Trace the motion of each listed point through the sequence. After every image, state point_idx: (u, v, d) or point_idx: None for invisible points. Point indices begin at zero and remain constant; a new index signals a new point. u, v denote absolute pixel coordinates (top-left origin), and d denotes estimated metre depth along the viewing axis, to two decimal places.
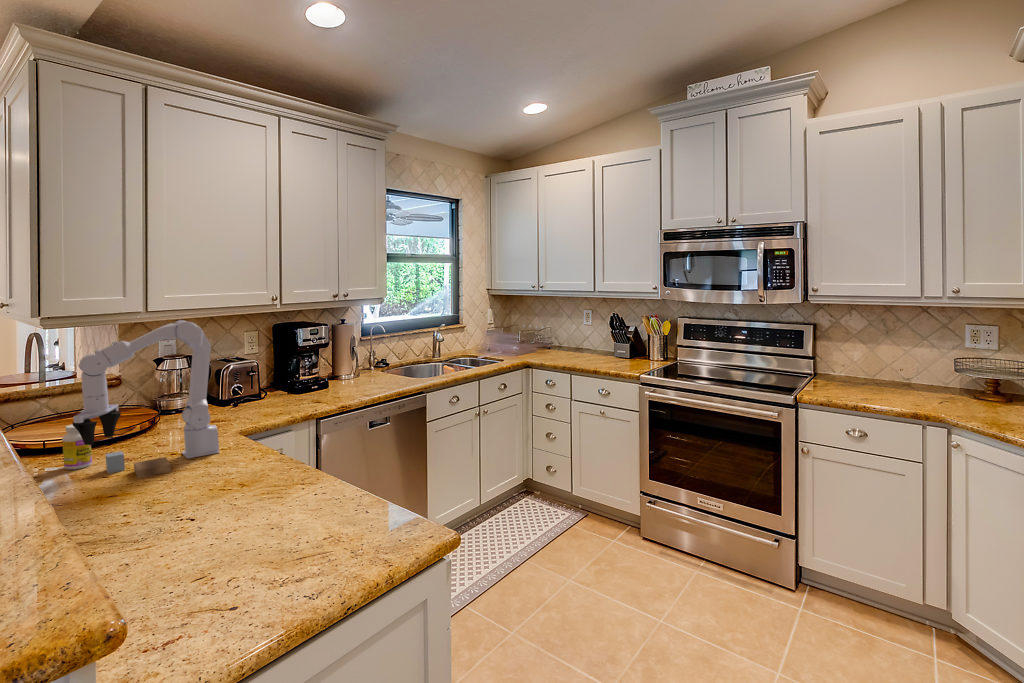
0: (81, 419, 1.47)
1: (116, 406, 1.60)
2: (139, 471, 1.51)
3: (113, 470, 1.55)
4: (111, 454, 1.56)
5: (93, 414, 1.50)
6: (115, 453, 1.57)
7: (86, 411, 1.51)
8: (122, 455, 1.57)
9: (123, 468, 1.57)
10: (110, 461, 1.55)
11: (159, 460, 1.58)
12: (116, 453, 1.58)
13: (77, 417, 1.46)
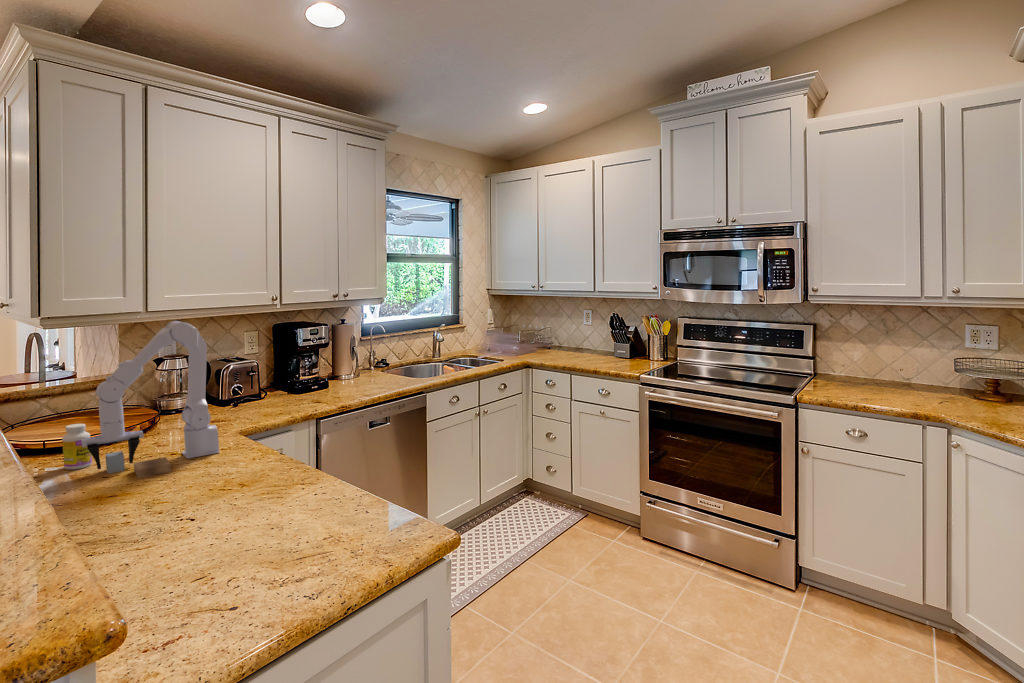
0: (83, 444, 1.51)
1: (139, 433, 1.60)
2: (139, 471, 1.51)
3: (113, 470, 1.55)
4: (111, 454, 1.56)
5: (98, 440, 1.52)
6: (115, 453, 1.57)
7: (101, 435, 1.55)
8: (122, 455, 1.57)
9: (123, 468, 1.57)
10: (110, 461, 1.55)
11: (159, 460, 1.58)
12: (116, 453, 1.58)
13: None
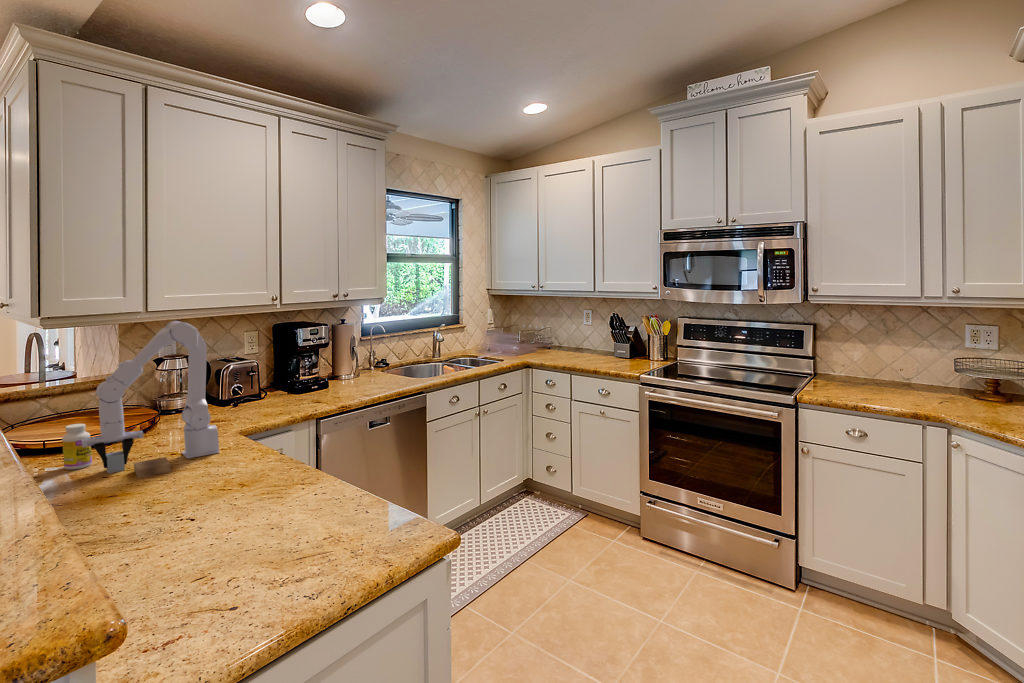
0: (83, 444, 1.51)
1: (139, 433, 1.60)
2: (139, 471, 1.51)
3: (113, 470, 1.55)
4: (111, 454, 1.56)
5: (98, 440, 1.52)
6: (115, 453, 1.57)
7: (101, 435, 1.55)
8: (122, 455, 1.57)
9: (123, 468, 1.57)
10: (110, 460, 1.55)
11: (159, 460, 1.58)
12: (116, 452, 1.58)
13: (82, 441, 1.51)
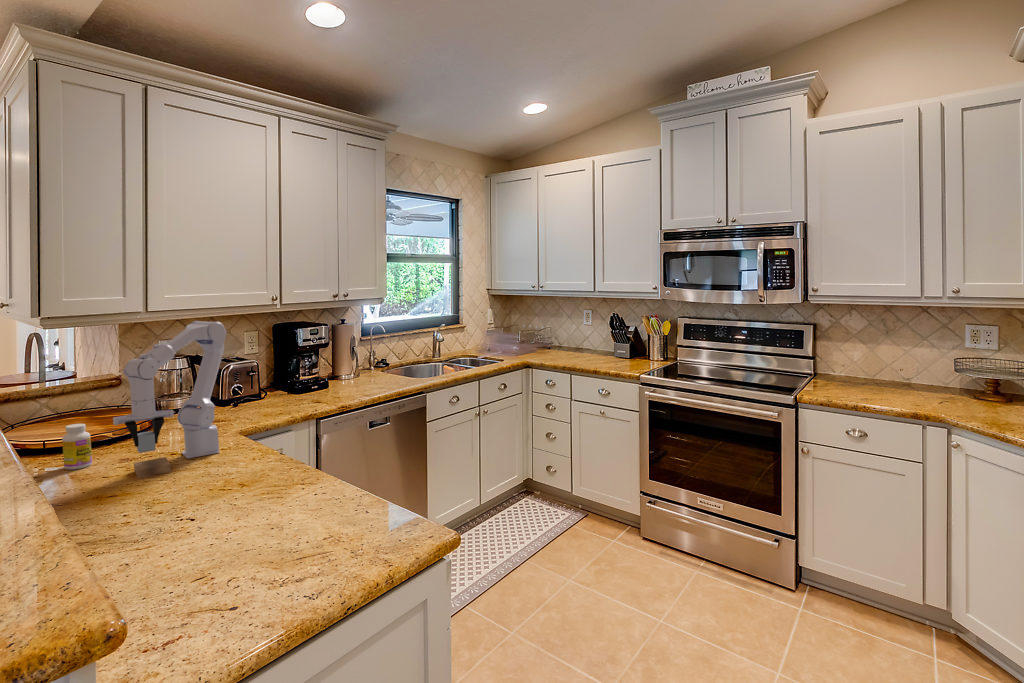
0: (115, 421, 1.49)
1: (170, 412, 1.58)
2: (139, 471, 1.51)
3: (144, 450, 1.54)
4: (142, 434, 1.55)
5: (129, 418, 1.51)
6: (146, 433, 1.56)
7: (132, 414, 1.53)
8: (153, 434, 1.55)
9: (154, 448, 1.55)
10: (141, 440, 1.53)
11: (159, 460, 1.58)
12: (146, 432, 1.56)
13: (113, 419, 1.49)
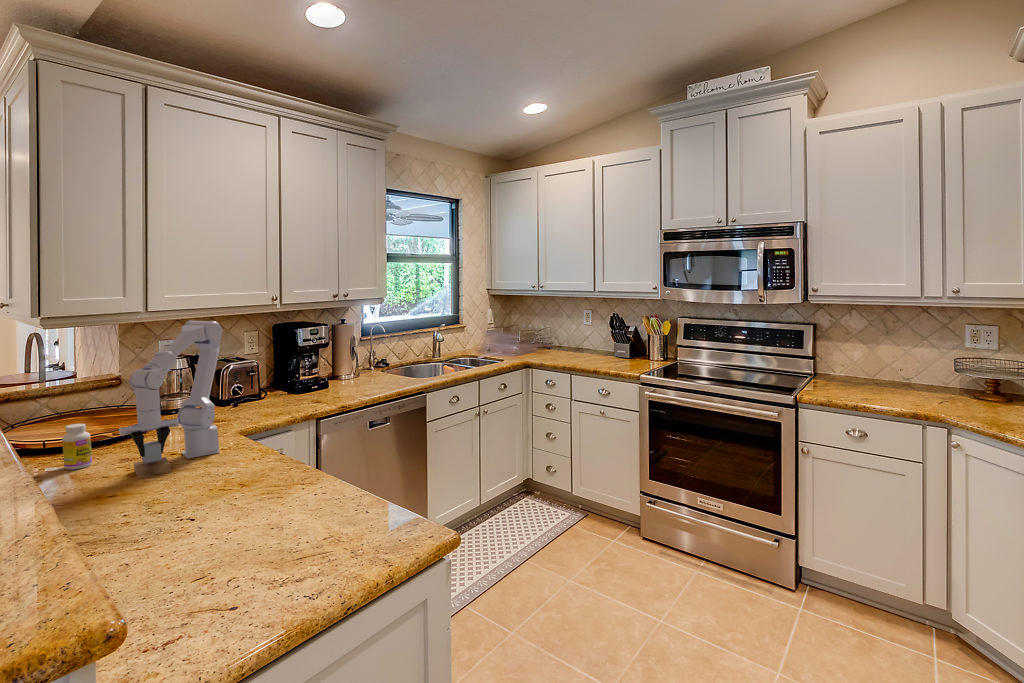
0: (122, 432, 1.49)
1: (175, 422, 1.59)
2: (139, 471, 1.51)
3: (150, 460, 1.54)
4: (147, 444, 1.55)
5: (136, 428, 1.51)
6: (151, 443, 1.56)
7: (137, 424, 1.53)
8: (159, 444, 1.55)
9: (160, 457, 1.56)
10: (148, 450, 1.53)
11: (159, 460, 1.58)
12: (151, 442, 1.56)
13: (119, 430, 1.49)
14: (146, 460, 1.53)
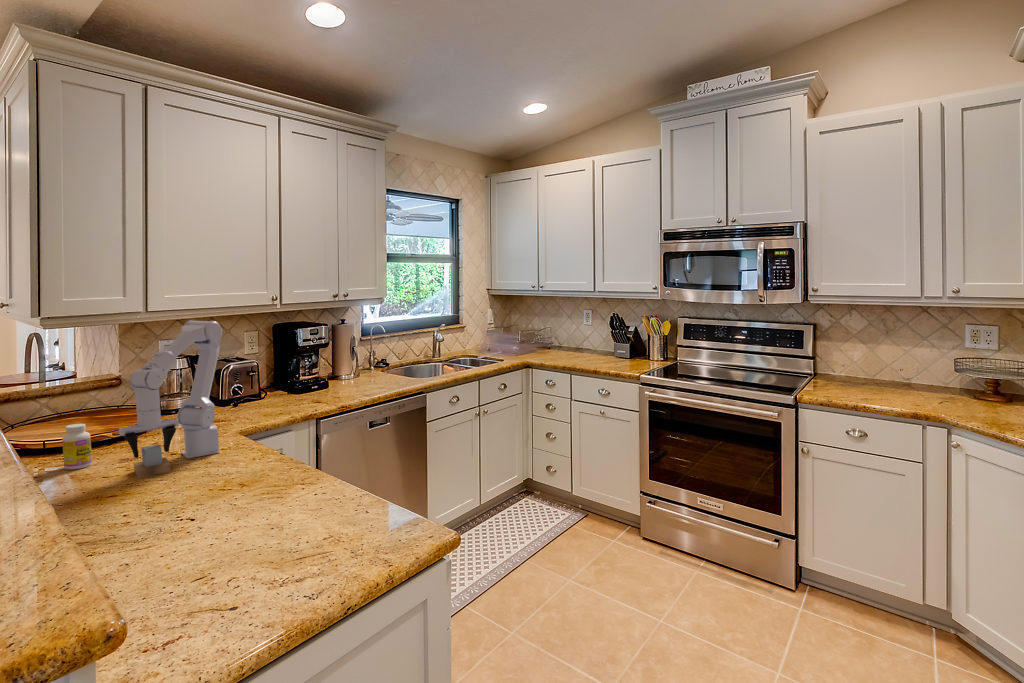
0: (122, 432, 1.49)
1: (175, 422, 1.59)
2: (139, 471, 1.51)
3: (151, 463, 1.54)
4: (148, 447, 1.55)
5: (136, 428, 1.51)
6: (152, 446, 1.56)
7: (137, 424, 1.53)
8: (160, 448, 1.55)
9: (161, 461, 1.56)
10: (148, 454, 1.53)
11: None
12: (152, 446, 1.56)
13: (119, 430, 1.49)
14: (147, 464, 1.53)
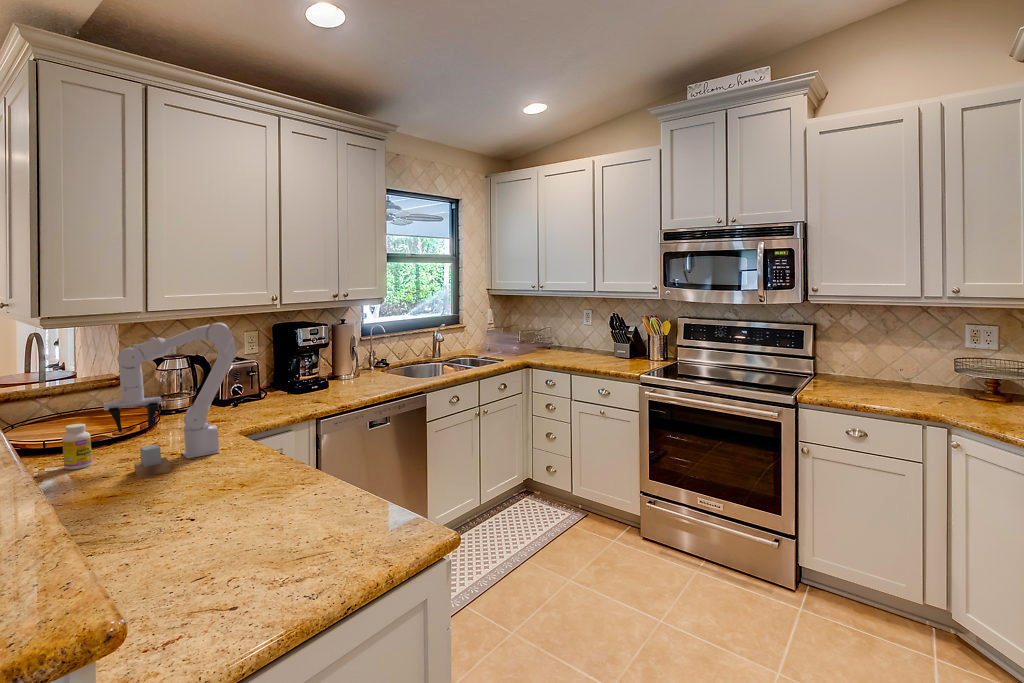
0: (105, 407, 1.58)
1: (158, 399, 1.66)
2: (139, 471, 1.51)
3: (150, 463, 1.54)
4: (147, 447, 1.55)
5: (119, 404, 1.59)
6: (150, 446, 1.56)
7: (121, 400, 1.62)
8: (159, 448, 1.55)
9: (159, 461, 1.56)
10: (147, 454, 1.53)
11: None
12: (151, 446, 1.56)
13: None
14: (145, 464, 1.53)
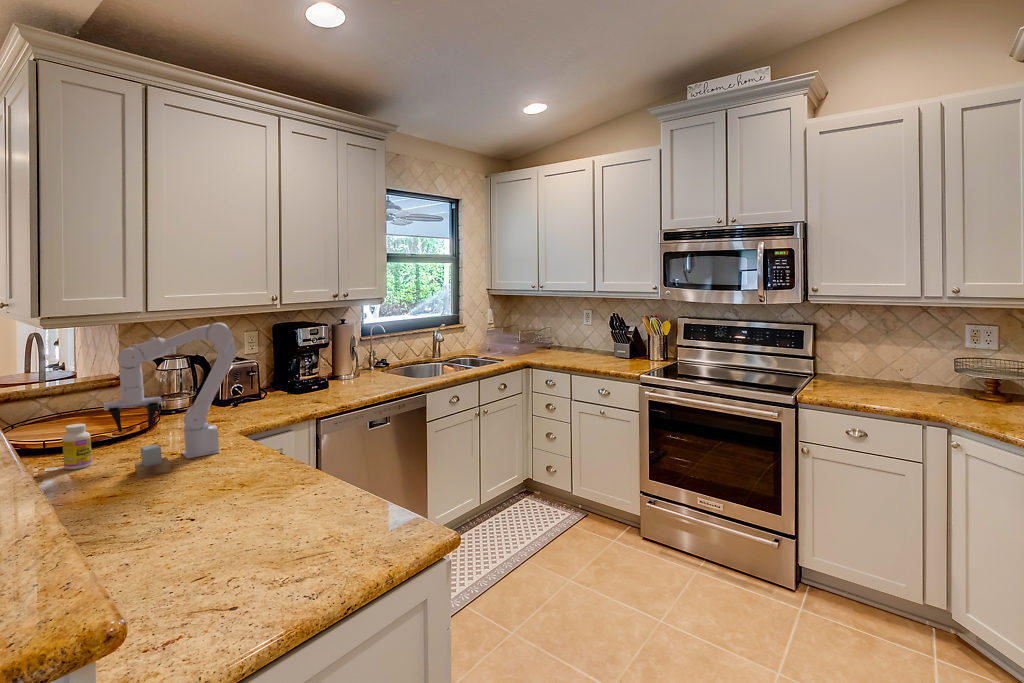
0: (105, 407, 1.58)
1: (158, 399, 1.66)
2: (140, 471, 1.51)
3: (151, 463, 1.54)
4: (147, 447, 1.55)
5: (119, 404, 1.59)
6: (151, 446, 1.56)
7: (121, 400, 1.62)
8: (159, 448, 1.55)
9: (160, 461, 1.56)
10: (148, 454, 1.53)
11: None
12: (151, 446, 1.56)
13: None
14: (146, 464, 1.53)
